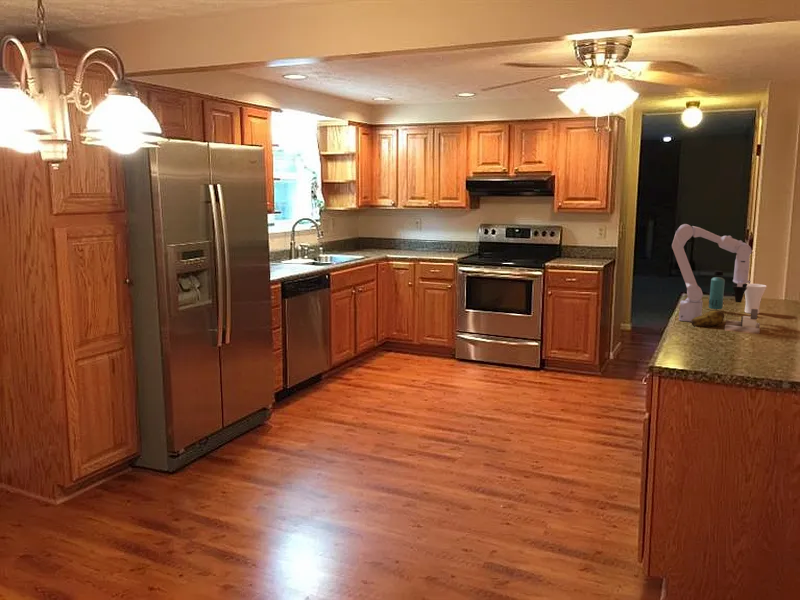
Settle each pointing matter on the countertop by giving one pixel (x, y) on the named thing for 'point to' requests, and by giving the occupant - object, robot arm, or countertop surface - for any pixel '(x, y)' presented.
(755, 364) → the countertop surface
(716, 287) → the beverage bottle
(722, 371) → the countertop surface
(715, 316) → the potato
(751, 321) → the block
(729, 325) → the press board
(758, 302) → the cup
